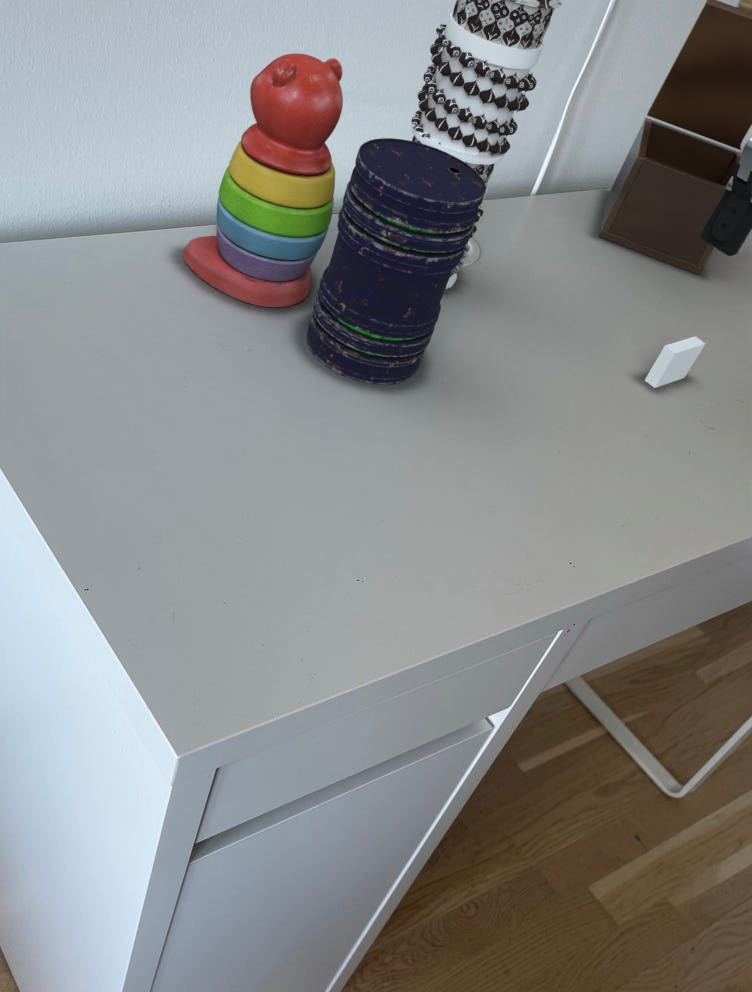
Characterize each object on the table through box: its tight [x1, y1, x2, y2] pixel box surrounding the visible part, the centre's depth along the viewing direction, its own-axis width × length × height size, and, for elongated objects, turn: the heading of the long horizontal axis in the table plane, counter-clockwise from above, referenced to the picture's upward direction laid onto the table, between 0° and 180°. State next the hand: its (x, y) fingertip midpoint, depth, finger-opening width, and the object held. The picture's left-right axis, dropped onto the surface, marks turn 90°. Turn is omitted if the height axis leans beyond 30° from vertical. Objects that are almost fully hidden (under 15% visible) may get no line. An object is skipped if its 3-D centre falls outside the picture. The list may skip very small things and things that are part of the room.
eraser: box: [644, 335, 706, 389], centre depth 89 cm, size 1×5×4 cm, turn 127°
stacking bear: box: [182, 53, 344, 308], centre depth 79 cm, size 11×10×18 cm
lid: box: [646, 0, 752, 151], centre depth 104 cm, size 14×12×5 cm
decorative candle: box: [410, 0, 563, 290], centre depth 85 cm, size 9×9×25 cm
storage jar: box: [305, 137, 487, 386], centre depth 76 cm, size 10×10×15 cm
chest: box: [598, 117, 742, 275], centre depth 110 cm, size 14×12×9 cm
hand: (747, 239), depth 80 cm, fingers open, 9 cm apart
